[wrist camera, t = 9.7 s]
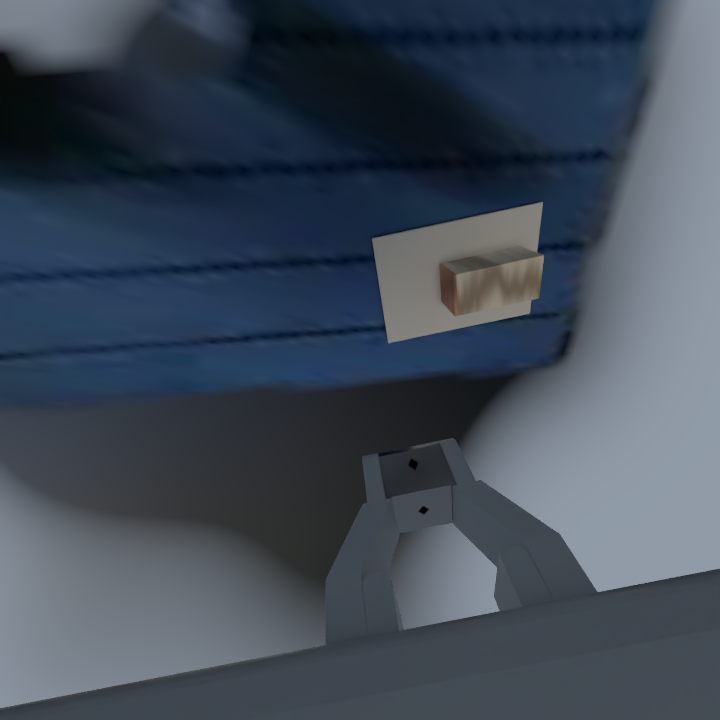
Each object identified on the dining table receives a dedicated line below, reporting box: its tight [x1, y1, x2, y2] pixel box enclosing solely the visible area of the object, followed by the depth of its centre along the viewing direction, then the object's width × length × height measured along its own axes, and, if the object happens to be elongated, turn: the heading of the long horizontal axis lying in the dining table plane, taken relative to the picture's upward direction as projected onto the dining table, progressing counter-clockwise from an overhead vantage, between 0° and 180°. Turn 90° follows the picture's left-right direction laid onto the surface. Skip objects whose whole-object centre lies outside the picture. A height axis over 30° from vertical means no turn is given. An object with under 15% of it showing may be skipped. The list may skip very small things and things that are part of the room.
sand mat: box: [372, 202, 543, 343], centre depth 39 cm, size 14×20×1 cm
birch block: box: [439, 246, 544, 316], centre depth 37 cm, size 5×5×10 cm
